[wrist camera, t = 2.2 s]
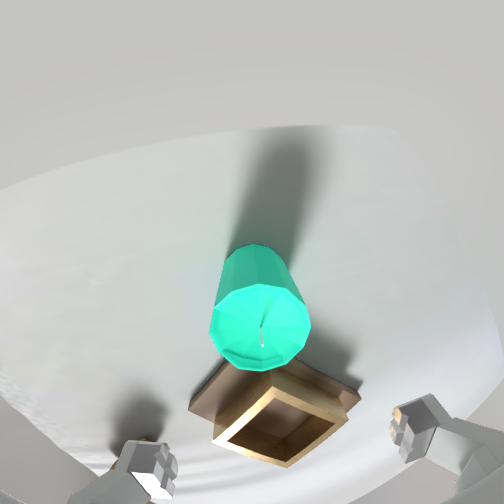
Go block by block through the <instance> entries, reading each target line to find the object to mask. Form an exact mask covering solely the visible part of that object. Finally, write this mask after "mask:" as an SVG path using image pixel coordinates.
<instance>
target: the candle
mask: <svg viewBox="0 0 504 504" xmlns="http://www.w3.org/2000/svg"><path fill="white" fill-rule="evenodd" d="M310 329H311V323H310V319H309V315H308V311H307V307H306V305H305V303H304V301H303V299H302V297H301V295H300V293H299V291H298V289H297V287H296V285H295V283H294V281H293V279H292V277H291V275H290V273H289V271H288V269H287V267H286V265H285V263H284V261H283V259H282V258H281V257H280V256H279V255H278V254H277V253H276V252H274V251H273V250H272V249H271V248H270V247H266V246H261V245H256V244H251V245H247V246H244V247H241V248H238V249H236V250H235V251H234V252H233V253H232V254H231V255H230V256H229V257H228V259H227V260H226V261H225V262H224V267H223V271H222V275H221V279H220V284H219V288H218V292H217V297H216V301H215V305H214V310H213V315H212V321H211V326H210V331H209V334H210V336H211V338H212V340H213V342H214V344H215V346H216V348H217V350H218V352H219V353H220V354H221V355H223V356H224V357H225V358H226V359H227V360H228V361H229V362H231V363H232V364H233V365H234V366H235V367H236V368H238V369H244V370H253V371H266V370H269V369H273V368H276V367H279V366H283V365H286V364H287V363H288V362H289V361H290V360H291V359H292V358H293V357H294V356H295V355H296V354H297V353H298V352H299V351H300V350H301V349H302V348H303V347H304V345H305V342H306V340H307V337H308V335H309V332H310Z"/></svg>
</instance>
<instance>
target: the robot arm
mask: <svg viewBox="0 0 504 504" xmlns="http://www.w3.org/2000/svg"><path fill="white" fill-rule="evenodd" d="M392 415H393V416H394V419H393V420H392V421H391V424H390V434H391V437H392V440H393V442H394V444H396V445H398V446H400V449H399V454H400V456H401V458H402V460H403V462H404V464H406V463H409V462H412V461H414V460H417V459H419V458H422V457H424V456H425V457H426V458H428V459H429V460H431V461H433V462H435V463H437V464H438V465H440V466H442V467H444V468H446V469H448V470H450V471H452V472H454V473H456V474H458V475H459V477H458V478H457V480H456V481H455V483H454V485H453V486H452V490H453V492H454V494H455V496H453V497H451V498H450V499H448V500H446V501H444V502H442V503H440V504H504V433H503V432H502V431H498V430H495V429H491V428H488V427H484V426H481V425H478V424H474V423H471V422H468V421H465V420H462V419H459V418H456V417H455V418H453V419H452V418H451V417H450V415H449V414H448V413H447V412H446V410H445V409H444V408H443V407H442V405H441V404H440V403H439V402H438V400H437V399H436V398H435V397H434V395H433V394H428V395H425V396H423V397H420V398H417V399H415V400H412V401H410V402H407V403H404V404H402V405H399V406H396V407H395V408H394V409H393V413H392ZM169 449H170V448H169V446H168V445H167V443H159V442H146V441H134V440H128V441H127V442H126V443H125V445H124V447H123V450H122V452H121V454H120V457H119V459H118V462H117V464H116V466H115V469H114V470H109V471H108V472H107V473H105V474H104V475H102V476H101V477H99V478H98V479H96V480H95V481H94V482H92V483H90V484H89V485H87V486H86V487H84V488H82V489H81V490H79V491H78V492H76V493H75V494H73V495H72V496H70V498H69V500H68V503H67V504H146V503H147V502H148V501H149V500H150V499H151V497H155V498H168V499H172V497H173V492H174V488H175V485H174V483H173V482H172V480H174V479H175V478H176V477H177V473H178V464H177V461H176V458H175V456H174V455H172V454H171V453H169ZM0 504H26V503H24V502H23V501H21V500H19V499H17V498H15V497H14V496H12V495H10V494H9V493H7V492H5V491H3V490H1V489H0Z"/></svg>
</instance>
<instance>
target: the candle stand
mask: <svg viewBox="0 0 504 504" xmlns="http://www.w3.org/2000/svg"><path fill="white" fill-rule="evenodd" d="M360 400H361V397H360V395H359V393H358V391H356V390H354V389H352V388H350V387H348V386H346V385H344V384H342V383H340V382H338V381H336V380H334V379H332V378H330V377H328V376H327V375H325V374H323V373H321V372H319V371H317V370H315V369H313V368H312V367H310V366H308V365H306V364H304V363H302V362H300V361H299V360H297V359H295V358H292V359H291V360H290V361H289V362H288V363H287V364H286V365H283V366H279V367H276V368H273V369H269V370H266V371H253V370H244V369H238V368H236V367H235V366H234V365H233V364H232V363H231V362H229V361H228V360H226V361H225V362H224V363H223V364H222V365H221V367H220V368H219V369H218V370H217V371H216V372H215V374H214V375H213V376H212V377H211V378H210V379H209V381H208V382H207V383H206V384H205V385H204V386H203V387H202V389H201V390H200V391H199V392H198V393H197V394H196V395H195V396H194V398H193V399H192V400H191V401H190V403H189V407H188V411H190V412H192V413H194V414H196V415H198V416H201V417H203V418H205V419H207V420H209V421H211V422H213V423H214V433H213V442H214V443H216V444H218V445H221V446H223V447H226V448H228V449H231V450H234V451H236V452H239V453H242V454H244V455H247V456H250V457H253V458H256V459H259V460H262V461H265V462H268V463H272V464H275V465H278V466H282V467H285V468H288V467H289V466H291V465H292V464H294V463H295V462H296V461H298V460H299V459H301V458H302V457H303V456H305V455H306V454H308V453H309V452H310V451H312V450H313V449H314V448H316V447H317V446H318V445H319V444H321V443H322V442H323V441H324V440H326V439H327V438H328V437H329V436H331V435H332V434H333V433H334V432H336V431H337V430H338V429H339V428H340V427H341V426H343V425H344V424H345V423H346V422H347V421H348V417H347V415H346V413H347V412H348V411H349V410H350V409H351V408H352V407H353V406H355V405H356V404H357V403H358V402H359V401H360Z"/></svg>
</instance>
